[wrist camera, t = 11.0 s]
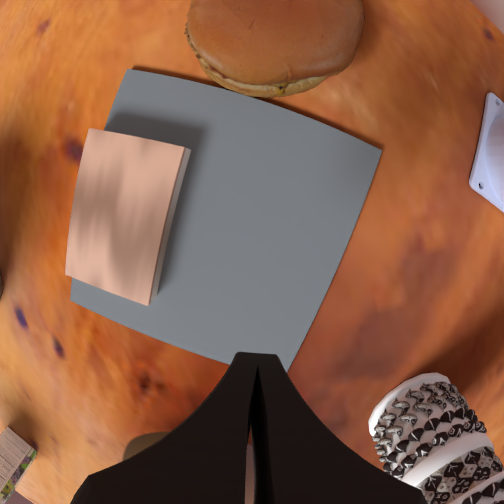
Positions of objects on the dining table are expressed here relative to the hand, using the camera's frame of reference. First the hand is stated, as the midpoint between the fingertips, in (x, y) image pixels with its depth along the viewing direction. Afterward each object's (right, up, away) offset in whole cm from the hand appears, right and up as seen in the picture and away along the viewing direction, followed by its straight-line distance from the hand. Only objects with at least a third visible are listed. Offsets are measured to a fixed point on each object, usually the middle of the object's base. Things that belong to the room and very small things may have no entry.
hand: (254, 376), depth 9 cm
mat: (-3, +5, +8) cm, 10 cm away
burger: (+1, +18, +5) cm, 18 cm away
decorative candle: (+14, -10, +11) cm, 20 cm away
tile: (-5, +5, +7) cm, 10 cm away
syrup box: (-34, -24, +16) cm, 44 cm away
